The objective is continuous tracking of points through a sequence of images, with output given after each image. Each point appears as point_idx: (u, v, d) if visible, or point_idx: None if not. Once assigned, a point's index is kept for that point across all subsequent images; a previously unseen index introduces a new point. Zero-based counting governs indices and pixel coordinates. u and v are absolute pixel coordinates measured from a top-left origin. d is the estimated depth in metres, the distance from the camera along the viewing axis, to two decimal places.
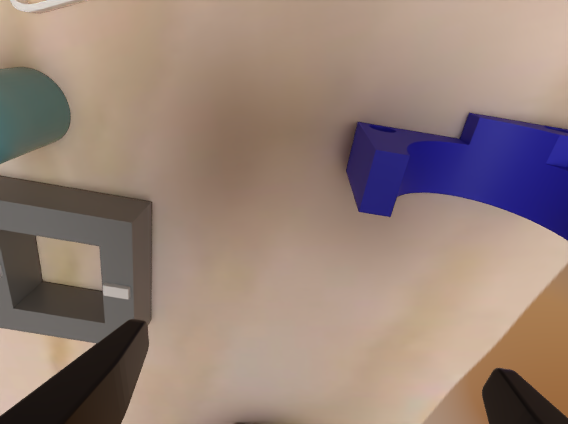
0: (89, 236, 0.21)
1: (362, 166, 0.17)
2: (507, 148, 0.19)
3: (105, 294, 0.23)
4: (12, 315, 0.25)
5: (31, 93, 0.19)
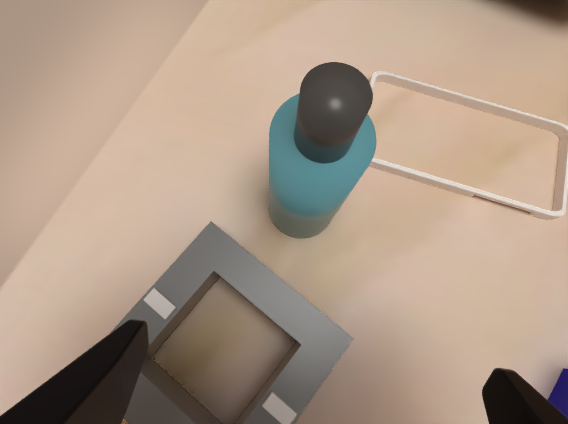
0: (299, 329, 0.19)
1: None
2: None
3: (265, 406, 0.18)
4: None
5: None
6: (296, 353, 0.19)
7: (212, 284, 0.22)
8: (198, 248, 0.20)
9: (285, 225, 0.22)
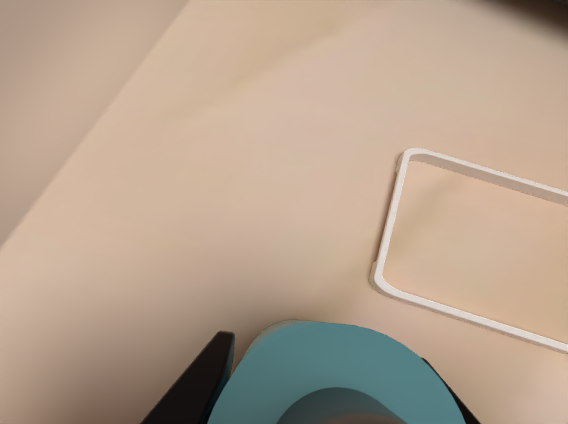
0: None
1: None
2: None
3: None
4: None
5: None
6: None
7: None
8: None
9: None
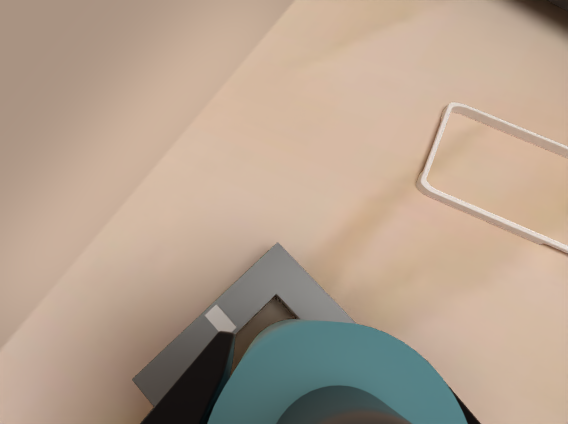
0: None
1: None
2: None
3: None
4: None
5: None
6: None
7: None
8: (262, 268, 0.20)
9: None
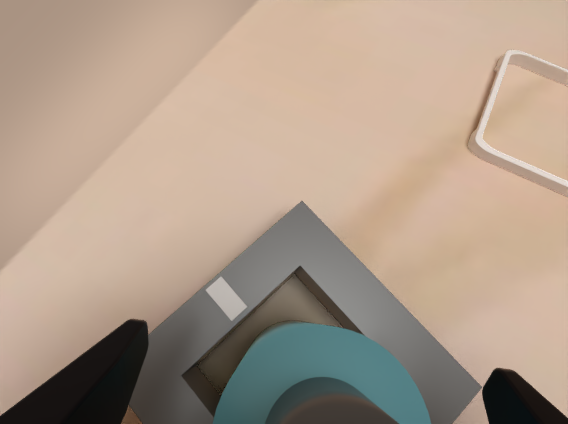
0: (409, 362, 0.14)
1: None
2: None
3: None
4: (164, 385, 0.13)
5: None
6: None
7: (284, 282, 0.17)
8: (282, 233, 0.15)
9: None
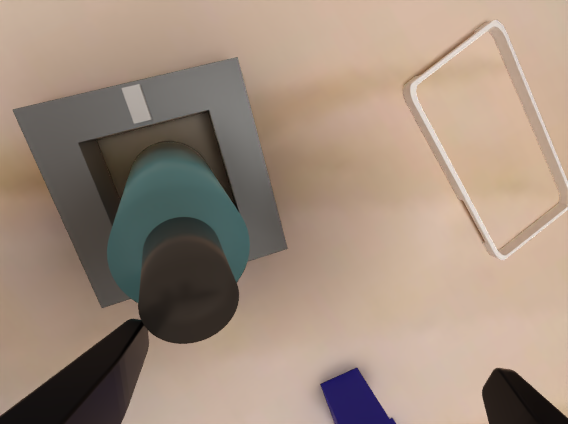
0: (251, 213, 0.19)
1: (365, 418, 0.23)
2: None
3: None
4: (61, 143, 0.16)
5: None
6: None
7: (195, 114, 0.20)
8: (207, 75, 0.17)
9: None
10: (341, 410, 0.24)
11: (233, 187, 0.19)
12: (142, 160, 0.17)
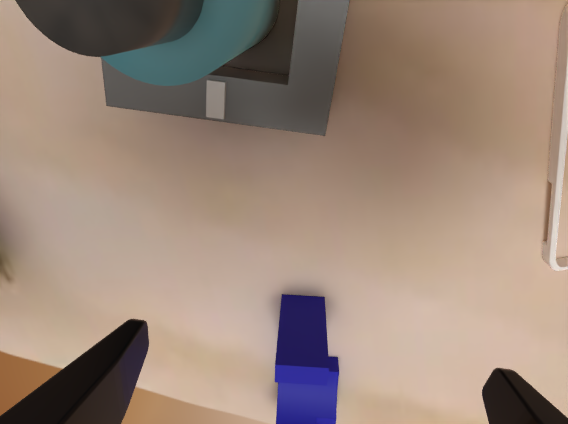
0: (302, 73, 0.15)
1: (305, 343, 0.22)
2: (320, 391, 0.27)
3: (209, 83, 0.16)
4: None
5: (257, 41, 0.16)
6: (276, 85, 0.16)
7: None
8: None
9: None
10: (287, 326, 0.23)
11: (296, 29, 0.15)
12: None
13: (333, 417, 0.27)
